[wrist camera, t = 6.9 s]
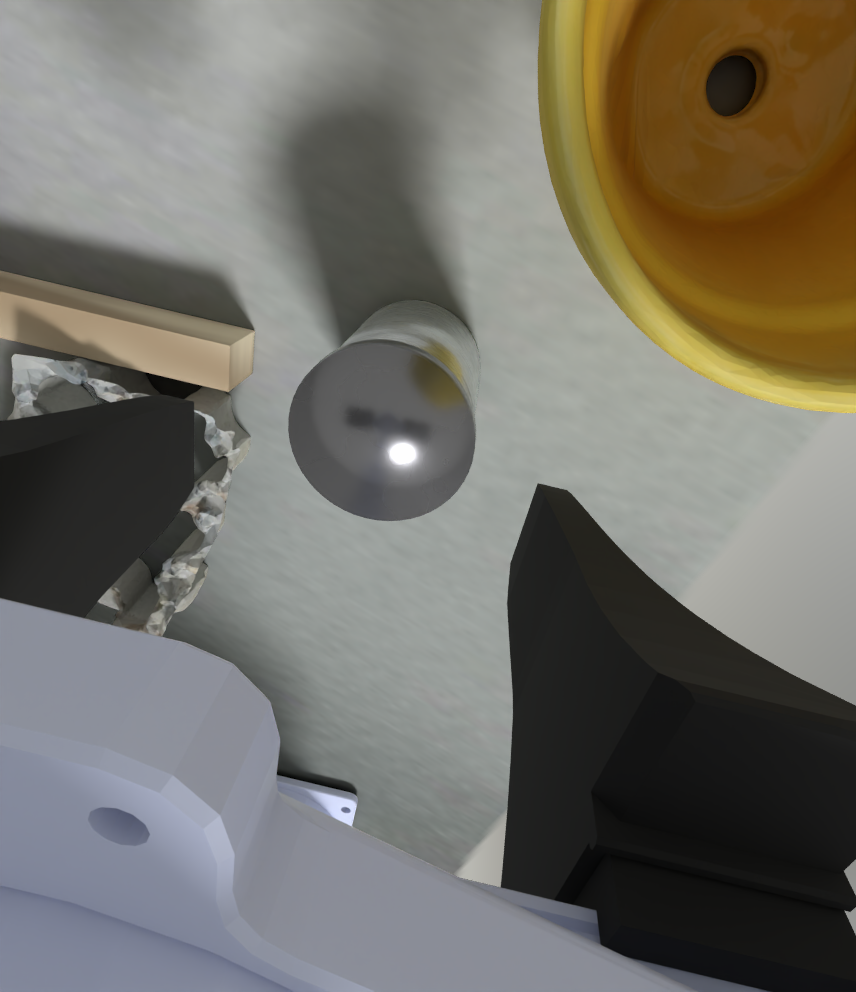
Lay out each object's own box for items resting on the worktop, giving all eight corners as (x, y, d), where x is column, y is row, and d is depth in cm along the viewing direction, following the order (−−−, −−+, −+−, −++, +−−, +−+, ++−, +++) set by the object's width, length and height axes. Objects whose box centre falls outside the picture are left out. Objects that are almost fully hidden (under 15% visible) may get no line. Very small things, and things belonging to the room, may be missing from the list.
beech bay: (233, 722, 29) (216, 757, 28) (-27, 660, 29) (-61, 690, 28) (254, 330, 19) (229, 346, 18) (-137, 238, 20) (-200, 244, 18)
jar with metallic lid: (465, 445, 21) (451, 538, 15) (339, 415, 21) (281, 497, 15) (499, 315, 18) (496, 372, 13) (357, 281, 18) (297, 324, 13)
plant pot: (454, 193, 17) (402, 210, 8) (690, -315, 12) (1151, -1537, 3) (747, 361, 18) (961, 526, 10) (1069, -33, 13) (2085, -411, 5)
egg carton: (200, 606, 26) (152, 674, 23) (38, 530, 25) (-39, 589, 22) (281, 413, 21) (236, 462, 18) (83, 309, 20) (-8, 338, 17)
